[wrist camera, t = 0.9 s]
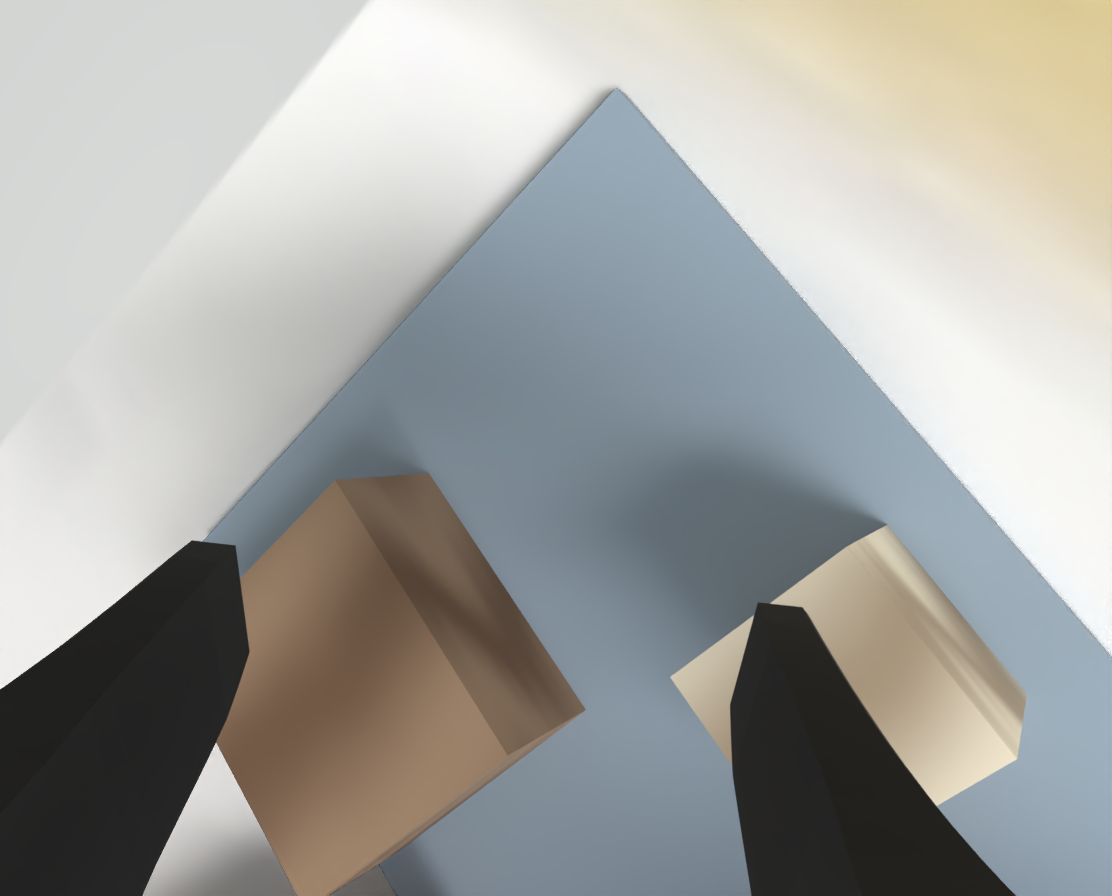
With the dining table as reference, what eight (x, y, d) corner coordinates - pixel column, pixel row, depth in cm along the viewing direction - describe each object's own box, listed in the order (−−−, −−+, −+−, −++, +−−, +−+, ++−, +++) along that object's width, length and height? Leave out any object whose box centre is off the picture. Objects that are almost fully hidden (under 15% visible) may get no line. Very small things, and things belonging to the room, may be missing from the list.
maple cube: (1026, 693, 20) (1017, 759, 16) (857, 797, 22) (810, 878, 18) (887, 524, 21) (846, 546, 17) (737, 634, 23) (670, 677, 19)
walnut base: (586, 710, 25) (507, 755, 22) (400, 850, 28) (305, 910, 25) (428, 473, 27) (335, 479, 24) (272, 627, 30) (168, 652, 27)
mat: (1274, 845, 19) (1280, 857, 18) (576, 1183, 26) (566, 1198, 26) (625, 95, 25) (616, 87, 24) (213, 542, 33) (199, 544, 32)
